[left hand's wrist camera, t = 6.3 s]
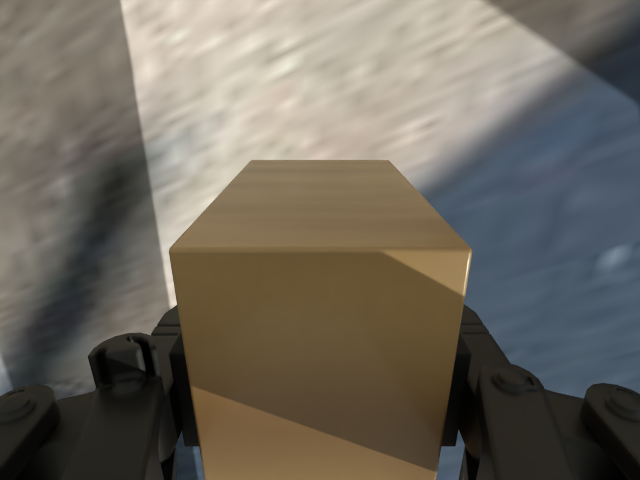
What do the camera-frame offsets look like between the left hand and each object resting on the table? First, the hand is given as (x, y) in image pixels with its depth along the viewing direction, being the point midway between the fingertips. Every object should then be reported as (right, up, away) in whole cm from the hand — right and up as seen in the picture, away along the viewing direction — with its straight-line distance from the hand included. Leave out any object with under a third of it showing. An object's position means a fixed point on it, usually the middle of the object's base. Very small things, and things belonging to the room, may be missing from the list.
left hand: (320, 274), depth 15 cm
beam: (0, -24, +10) cm, 26 cm away
